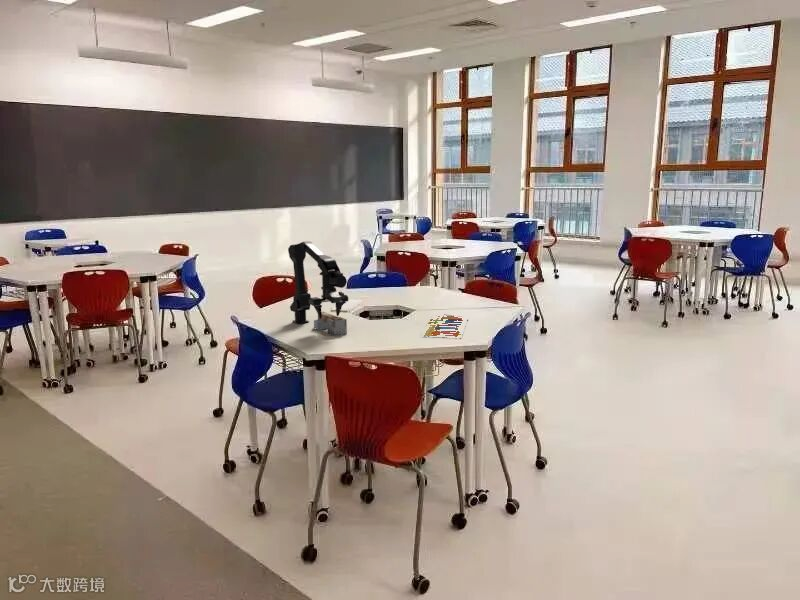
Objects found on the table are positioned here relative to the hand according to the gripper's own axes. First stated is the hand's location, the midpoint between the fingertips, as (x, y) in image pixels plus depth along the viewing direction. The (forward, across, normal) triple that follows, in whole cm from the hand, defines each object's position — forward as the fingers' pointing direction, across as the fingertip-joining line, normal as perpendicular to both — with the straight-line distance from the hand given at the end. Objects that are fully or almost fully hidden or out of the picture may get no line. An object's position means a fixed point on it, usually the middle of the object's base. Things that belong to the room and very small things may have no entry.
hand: (329, 317), depth 286 cm
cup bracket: (+6, 0, -8) cm, 10 cm away
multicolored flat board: (+7, +51, -26) cm, 58 cm away
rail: (+2, 0, 0) cm, 2 cm away
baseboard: (+7, +36, +44) cm, 57 cm away
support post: (+6, 0, +6) cm, 9 cm away
